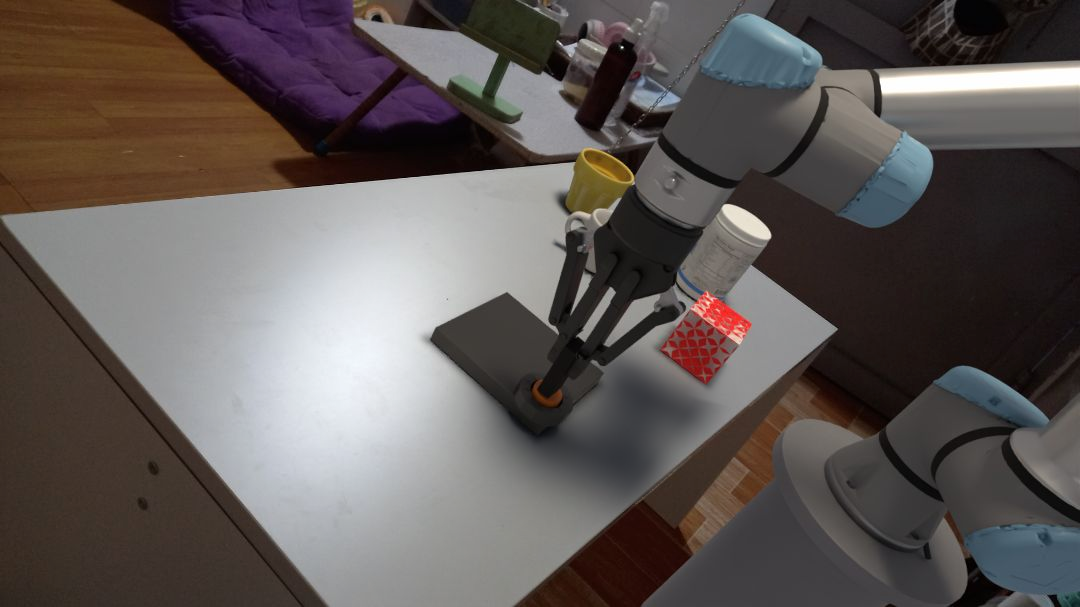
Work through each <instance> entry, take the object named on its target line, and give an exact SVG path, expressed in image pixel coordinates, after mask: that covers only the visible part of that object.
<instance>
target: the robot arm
mask: <svg viewBox="0 0 1080 607" xmlns="http://www.w3.org/2000/svg"><path fill="white" fill-rule="evenodd" d="M722 31H723V32H722V33H721V34H720V36H719V37H718V39H717V40H716V41H715V43H714V44H713V46H712V47H711V49H710V50H709V52H708V53H707V54H706V56H705V58H704V59H703V60H701V61H700V62H699V65H698V69H697V71H696V72H695V74H694V76H693V77H692V79H691V81H690V83H689V84H688V87H687V88H686V89H685V91H684V93H683V95H682V97H681V98H680V99H679V101H678V104H677V105H676V107H675V109H674V110H673V112H672V114H671V115H670V117H669V118H668V121H667V122H666V124H665V125H664V127H663V129H662V130H661V133H660V134H659V135H658V137H657V138H656V139H655V141H654V143H653V145H652V146H651V148H650V150H649V151H648V153H647V155H646V157H645V158H644V160H643V162H642V163H641V165H640V167H639V168H638V170H637V172H636V174H635V175H634V182H633V183H634V184H632V185H631V186H629V187H628V188H627V190H626V191H625V193H624V195H623V196H622V198H620V199H619V201H618V203H617V205H616V206H615V208H614V209H613V210H612V211H613V213H612V215H611V216H610V218H609V220H608V221H607V222H606V223H605V224H604V225H602V226H600V227H599V228H597V229H596V230H588V229H587V228H586V227H584V225H582V226H579V227H577V228H574V229H571V231H569V232H568V233H567V234H566V233H565V236H564V238H565V258H564V262H563V266H562V267H561V268H562V269H561V272H560V276H559V278H558V281H557V282H558V283H557V285H556V289H555V293H554V296H553V300H552V302H551V306H550V309H549V314H548V317H547V321H548V323H549V325H550V326H553V327H555V328H556V330H557V332H558V335H559V336H558V338H557V340H556V342H555V343H554V345H553V346H552V348H551V350H550V351H549V353H548V356H547V359H548V360H549V361H550V362H551V363H553V365H552V366H551V368H550V370H549V371H548V373H547V374H546V376H545V377H544V379H543V381H542V382H541V384H540V385H539V387H538V388H537V390H538V391H539V392H540V393H542V394H543V395H544V396H545V397H546V398H547V399H548V398H549V397H551V396H552V395H553V394H554V393H556V392H557V391H558V390H559V389H560V388H561V387H562V386H563V384H564V383H565V381H566V380H567V378H568V377H569V378H570V379H572V380H574V379H576V378H578V377H579V376H580V375H581V374H582V373H583V372H584V371H585V369H586V368H587V366H588V365H589V364H590V362H592V361H595V362H597V365H599V366H600V367H607V366H609V364H610V363H612V362H613V361H614V360H615V359H617V358H618V357H620V355H622V354H623V353H624V352H626V351H627V350H628V349H630V348H631V347H632V346H633V345H635V344H636V343H637V342H639V341H640V340H641V339H642V338H644V337H645V336H646V335H648V333H650V332H651V331H652V330H654V329H655V328H657V327H659V326H662V325H666V324H670V323H672V322H675V321H677V319H679V317H680V316H682V315H683V314H684V313H685V312H686V310H687V305H686V303H685V302H684V301H682V300H679V299H678V296H677V294H676V291H675V288H674V286H675V285H676V284H677V281H676V280H677V272H678V269H679V268H680V266H681V265H682V263H683V262H684V260H685V259H686V258H687V256H688V255H689V253H690V252H691V250H692V249H693V248H694V246H695V245H696V243H697V242H698V241H699V239H700V238H701V236H702V235H703V231H704V227H706V226H708V225H710V223H711V222H712V221H713V219H714V218H715V217H716V215H717V214H718V212H719V211H720V210H721V208H722V207H723V205H725V204H727V201H729V199H730V197H731V196H732V194H733V193H734V192H735V190H736V189H737V187H738V186H739V185H740V183H741V182H742V180H743V178H744V177H745V176H746V174H748V172H749V171H750V170H751V169H753V170H755V171H757V172H759V173H760V174H762V175H764V176H765V177H766V178H767V177H768V178H770V179H772V180H774V181H776V182H777V183H779V184H780V185H782V186H785V187H787V188H788V189H790V190H792V191H793V192H795V193H797V194H799V195H801V196H802V197H805V198H807V199H809V200H810V201H813V202H814V203H815V204H818V205H820V206H822V207H823V208H825V209H827V210H829V211H830V212H832V213H834V215H835V216H837V217H838V218H840V217H842V218H845V219H847V220H849V221H851V222H854V223H857V224H859V225H861V226H863V227H865V228H866V227H867V228H869V229H870V228H872V229H875V228H876V229H877V228H883V227H885V226H888V225H891V224H892V223H894V222H896V221H897V220H899V219H901V218H902V217H904V215H906V214H907V213H908V212H909V211H910V209H912V207H913V206H914V205H915V204H916V202H918V201H919V200H920V198H922V196H923V194H924V192H925V191H926V189H927V187H928V185H929V182H930V180H931V177H932V174H933V170H934V158H933V154H932V153H931V151H961V150H962V151H963V150H965V151H966V150H967V151H969V150H1009V149H1010V150H1012V149H1055V148H1056V149H1060V148H1063V149H1065V148H1080V60H1059V61H1035V62H1032V61H1031V62H1013V63H1012V62H1011V63H1009V62H1008V63H986V64H966V65H965V64H964V65H963V64H962V65H961V64H960V65H941V66H915V67H895V68H894V67H893V68H874V69H873V68H872V69H860V68H859V69H836V70H835V69H834V70H833V69H831V68H829V67H828V66H827V65H824V64H823V57H822V55H821V54H820V52H819V51H818V50H816V49H815V48H813V47H812V46H811V45H809V44H808V43H806V42H804V41H803V40H802V39H800V38H799V37H797V36H795V35H793V34H791V33H789V32H788V31H787V30H785V29H784V28H782V27H780V26H778V25H776V24H774V23H772V22H771V21H769V20H767V19H765V18H763V17H761V16H759V15H756V14H753V13H748V12H747V13H741V14H739V15H737V16H735V17H733V18H732V19H731V20H730V21H729V22H728V24H727V25H726V27H725V29H724V30H722ZM593 245H594V254H595V268H596V273H594V275H593V276H592V278H591V279H590V281H589V283H588V287H587V289H585V292H584V293H583V295H582V297H581V298H580V299H579V301H578V303H577V304H576V306H575V307H574V305H575V302H576V299H577V295H578V291H579V288H580V286H581V282H582V280H583V275H584V272H585V269H586V268H585V266H586V263H587V259H588V255H589V251H591V250H592V249H593ZM610 288H611V289H612V290H613V291H614V292H615V294H614V295H613V296H612V298H611V299H610V301H609V302H610V303H609V304H608V306H607V307H606V309H605V311H604V312H603V313H602V315H601V316H600V318H599V320H598V321H597V322H596V323H595V326H594V327H593V329H592V331H591V332H590V334H589V335H588V337H587V338H586V340H585V341H584V340H583V339H582V338H581V337H580V336H578V335H579V334H581V333H583V332H584V331H585V329H584V328H585V326H586V325H587V323H588V322H589V320H590V319H591V317H592V316H593V314H594V313H595V311H596V309H597V308H598V307H599V305H600V303H601V302H602V300H603V299H604V297H605V296H606V294H607V292H608V291H609V290H610ZM656 295H659V298H658V300H656V301H655V302H654V304H653V311H651V312H650V313H649V314H647V315H646V316H645V317H644V318H642V320H640V321H639V322H637V323H636V324H635V325H634V326H633V327H632V328H631V329H629V330H628V331H627V332H625V333H624V334H623V335H622V336H621V337H619V338H618V339H617V340H616V341H614V342H613V343H612V344H611V345H610V346H608V345H606V341H607V340H608V339H609V337H610V336H611V335H612V333H613V331H614V329H616V327H617V325H618V324H619V322H620V321H621V319H622V318H623V317H624V315H625V313H626V312H627V311H628V310H629V308H630V306H631V305H632V303H633V302H634V301H637V300H642V299H644V298H649V297H652V296H656ZM573 308H574V310H573ZM824 472H825V477H826V481H827V483H828V486H829V488H830V490H831V492H832V494H833V495H834V497H835V499H836V500H837V502H838V503H839V505H840V506H841V507H842V509H843V510H844V511H845V512H846V513H847V515H848V516H849V517H850V518H851V519H852V520H853V521H854V522H855V523H856V524H857V525H858V526H859V527H860V528H861V529H862V530H864V531H865V532H866V533H867V534H869V535H870V536H871V537H873V538H874V539H875V540H877V541H878V542H880V543H882V544H883V545H885V546H887V547H889V548H891V549H894V550H896V551H900V552H905V553H912V552H915V551H917V550H919V549H920V548H922V547H923V550H924V555H925V559H927V560H930V559H932V558H931V553H930V548H929V540H930V539H931V538H932V536H933V535H934V533H935V531H936V530H937V528H938V526H939V524H940V523H941V521H942V519H943V518H945V516H946V514H947V512H949V514H950V516H951V518H952V520H953V522H954V524H955V526H956V528H957V530H958V532H959V534H960V537H961V538H962V541H963V546H964V548H965V550H966V551H967V552H969V553H970V554H971V556H972V558H973V560H974V561H975V563H976V565H977V567H978V569H979V570H980V572H981V573H982V574H983V575H984V577H985V578H987V579H988V580H989V581H990V582H992V583H993V584H995V585H997V586H999V587H1001V588H1004V589H1007V590H1009V591H1012V592H1017V593H1021V594H1025V595H1033V596H1034V595H1036V596H1037V595H1038V596H1052V595H1065V594H1067V595H1068V594H1074V593H1077V592H1078V593H1079V592H1080V391H1079V392H1078V393H1077V394H1076V395H1074V397H1073V398H1072V399H1071V400H1070V401H1069V402H1068V403H1066V404H1065V405H1064V407H1063V408H1061V409H1060V410H1059V411H1058V412H1057V413H1056V414H1055V415H1054V416H1053V417H1052V418H1051V419H1049V418H1048V417H1047V416H1046V414H1044V412H1043V411H1042V410H1040V409H1039V408H1038V407H1037V406H1035V404H1034V403H1032V402H1031V401H1029V399H1027V398H1026V397H1025V396H1023V395H1022V394H1020V392H1017V391H1016V390H1014V388H1012V387H1010V386H1009V385H1008V384H1006V383H1004V382H1003V381H1001V380H1000V379H998V378H996V377H994V376H993V375H991V374H988V373H987V372H985V371H983V370H981V369H979V368H976V367H972V366H968V365H959V366H955V367H952V368H951V369H950V370H948V371H947V372H946V373H944V374H943V375H942V376H940V377H939V378H938V379H935V380H933V381H932V382H931V384H930V385H929V386H928V387H926V388H925V389H924V390H923V391H922V392H921V393H920V394H919V395H918V396H917V397H915V399H914V400H912V402H910V403H909V404H908V405H907V406H906V407H905V408H904V409H902V410H901V412H899V413H898V414H897V415H896V416H895V417H894V418H893V419H892V420H891V421H890V422H888V423H887V425H886V426H884V427H883V428H882V429H880V431H878V432H877V433H876V434H874V435H871V436H869V437H866V438H863V440H861V441H858V442H856V443H853V444H851V445H848V446H846V447H843V448H841V449H839V450H837V451H836V452H835V453H834V454H832V455H831V456H830V457H829V458H828V459H827V460H826V462H825V466H824Z"/></svg>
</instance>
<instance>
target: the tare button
mask: <svg viewBox="0 0 1080 607" xmlns="http://www.w3.org/2000/svg"><path fill="white" fill-rule="evenodd" d="M542 381H543V380H539V381H537V382H536V383H535V385H534V386H533V388H532V390H531V393H532V395H533V397H534V399H536V400H537V401H538V402H539V403H540V404H541V405H544V406H546V407H549V408H556V407H557V406H558V404H559V403H560V401H561V399H562V392H561V390H560V389H559V390H558V391H557V392H556V393H554V394H553V395H552V396H551V397H549V398H548V399H547V398H546V397H545V396H544V395H543V394H542V393H540V392H539V391H538V390H537V388H538V387H539V385H540V384H541V382H542Z"/></svg>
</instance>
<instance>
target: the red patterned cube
mask: <svg viewBox="0 0 1080 607" xmlns="http://www.w3.org/2000/svg"><path fill="white" fill-rule="evenodd" d="M752 326H753V323H752V322H750V321H749V320H748V319H746V318H745V317H743V316H742V315H741V314H740V313H738V312H737V311H735V310H734V309H732V308H731V307H730V306H728V305H727V304H725V303H724V302H723V301H722V302H721V301H720V300H718V299H717V298H716V297H714V296H713V295H712V294H710V293H709V292H707V291H706V292H705V293H704V294H703V295H702V296H701V297H700V299H699V300H698V301H697V300H696V302H695V303H694V304H693V305H692V306H691V308H690V309H689V310H688V311H687V313H686V314H685V316H684V317H683V318H682V320H681V321H680V322H679V324H678V325H677V326H676V328H674V330H673V331H672V333H671V334H670V336H668V338H667V340H666V341H665V342H664V344H663V345H662V346H661V347H660V349H659V351H661V352H662V353H664V354H665V355H666V356H668V357H669V358H670V359H672V360H673V361H674V362H676V363H677V364H678V365H679V366H681V367H682V368H683V369H685V370H686V371H687V372H688V373H690V374H692V375H693V376H694V377H695V378H697V380H699V381H701V382H702V383H703V384H705V385H707V384H708V383H709V382H710V381H711V380H712V379H713V377H714V376H715V375H716V374H717V373H718V372H719V370H720V369H722V367H723V366H724V364H725V363H726V362H727V361H728V360H729V358H730V357H731V356H732V355H733V354H734V353H735V352H736V350H738V348H739V346H740V345H741V343H742V341H743V340H744V338H745V337H746V335H747V333H748V332H749V330H750V329H751V327H752Z"/></svg>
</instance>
